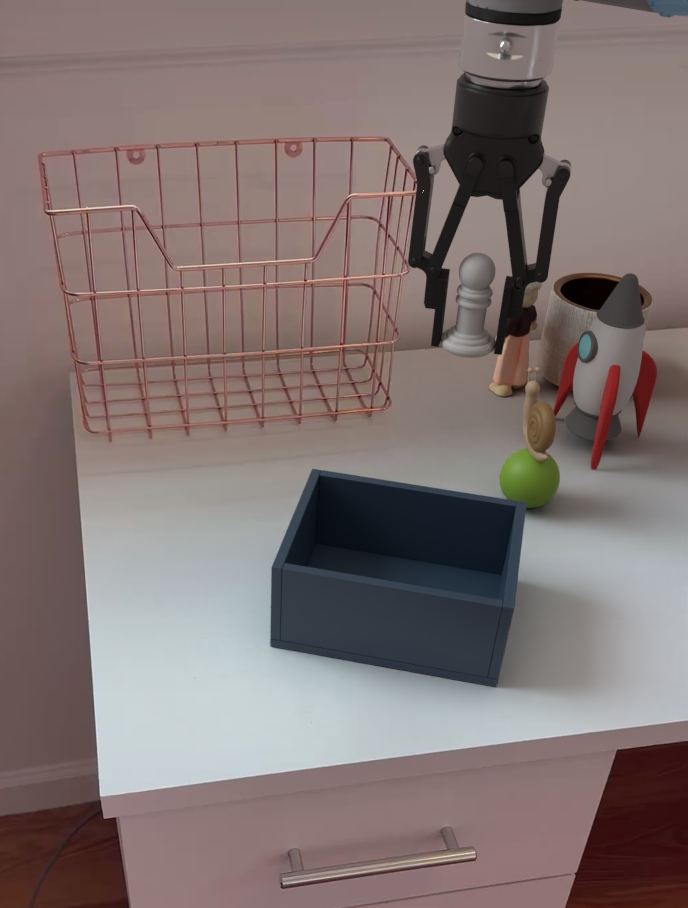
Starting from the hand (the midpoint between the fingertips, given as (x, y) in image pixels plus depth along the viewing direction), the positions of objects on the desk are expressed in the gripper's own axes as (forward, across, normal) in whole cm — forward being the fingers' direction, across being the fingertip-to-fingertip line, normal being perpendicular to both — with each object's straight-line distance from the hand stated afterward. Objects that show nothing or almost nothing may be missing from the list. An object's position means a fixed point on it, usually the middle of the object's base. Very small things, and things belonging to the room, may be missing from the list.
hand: (467, 343), depth 99 cm
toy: (+10, +14, +2) cm, 18 cm away
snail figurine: (+10, +8, -11) cm, 16 cm away
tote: (+10, -2, -30) cm, 31 cm away
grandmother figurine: (+10, +4, +11) cm, 15 cm away
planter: (+10, +12, +16) cm, 23 cm away
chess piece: (0, 0, 0) cm, 0 cm away
